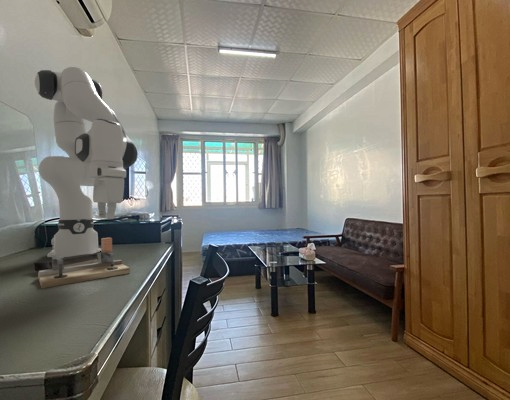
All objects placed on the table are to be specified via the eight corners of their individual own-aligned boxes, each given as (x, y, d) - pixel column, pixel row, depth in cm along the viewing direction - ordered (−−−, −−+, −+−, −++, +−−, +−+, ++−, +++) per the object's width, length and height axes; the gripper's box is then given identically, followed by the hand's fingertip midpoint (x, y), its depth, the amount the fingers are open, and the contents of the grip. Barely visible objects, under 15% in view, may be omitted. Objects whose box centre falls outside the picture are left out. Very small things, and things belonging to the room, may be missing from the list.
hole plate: (38, 278, 73) (38, 258, 73) (117, 266, 86) (117, 249, 86) (41, 288, 64) (41, 265, 64) (129, 273, 77) (129, 253, 77)
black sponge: (48, 275, 77) (48, 263, 77) (31, 273, 80) (31, 260, 80) (101, 264, 91) (101, 253, 92) (85, 262, 95) (85, 251, 95)
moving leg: (101, 263, 81) (100, 238, 81) (109, 262, 83) (109, 237, 83) (107, 267, 75) (107, 240, 76) (117, 266, 77) (116, 239, 77)
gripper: (87, 174, 87) (87, 216, 87) (103, 169, 72) (102, 220, 72) (109, 175, 91) (108, 216, 91) (128, 171, 76) (127, 219, 76)
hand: (106, 218), depth 82 cm, fingers open, 8 cm apart
